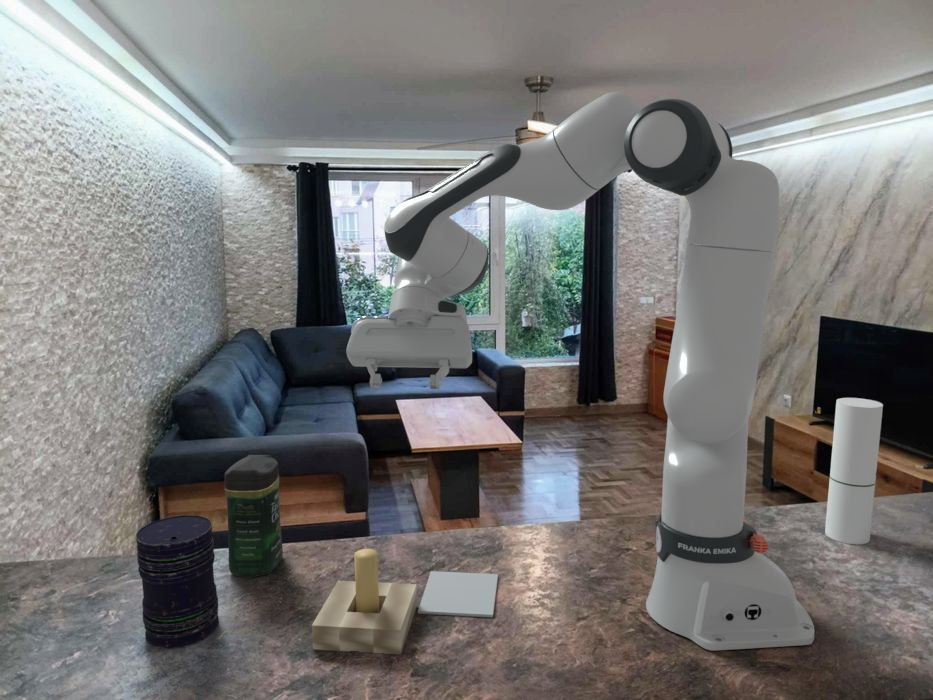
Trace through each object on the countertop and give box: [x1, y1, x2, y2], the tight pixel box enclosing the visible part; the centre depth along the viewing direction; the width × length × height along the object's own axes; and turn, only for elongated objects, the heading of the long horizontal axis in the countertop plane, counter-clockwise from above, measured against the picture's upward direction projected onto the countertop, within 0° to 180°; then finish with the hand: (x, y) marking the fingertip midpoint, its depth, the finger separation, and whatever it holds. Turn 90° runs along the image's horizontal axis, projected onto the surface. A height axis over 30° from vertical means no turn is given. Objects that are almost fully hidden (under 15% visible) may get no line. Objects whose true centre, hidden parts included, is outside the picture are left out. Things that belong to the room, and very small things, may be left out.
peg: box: [353, 548, 379, 613], centre depth 96 cm, size 3×3×11 cm
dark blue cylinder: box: [135, 514, 220, 650], centre depth 95 cm, size 10×10×15 cm
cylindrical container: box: [824, 397, 884, 546], centre depth 123 cm, size 7×7×25 cm
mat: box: [417, 570, 499, 618], centre depth 105 cm, size 11×12×1 cm
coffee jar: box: [223, 454, 284, 578], centre depth 113 cm, size 10×8×19 cm
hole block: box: [311, 580, 418, 655], centre depth 97 cm, size 12×12×4 cm
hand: (404, 386), depth 106 cm, fingers open, 8 cm apart
